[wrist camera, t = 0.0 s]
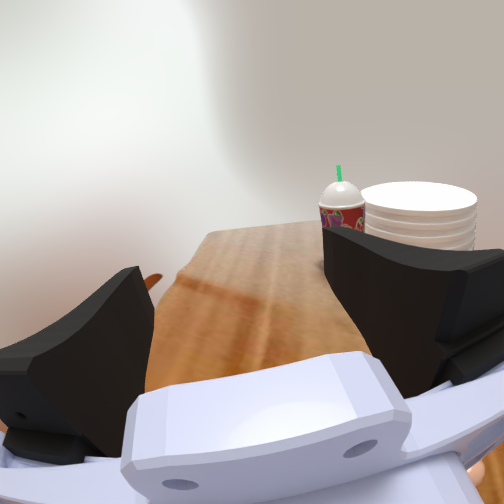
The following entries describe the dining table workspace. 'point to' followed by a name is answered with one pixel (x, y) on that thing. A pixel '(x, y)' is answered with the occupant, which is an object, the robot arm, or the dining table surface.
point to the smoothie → (342, 205)
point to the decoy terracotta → (477, 473)
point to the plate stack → (422, 214)
